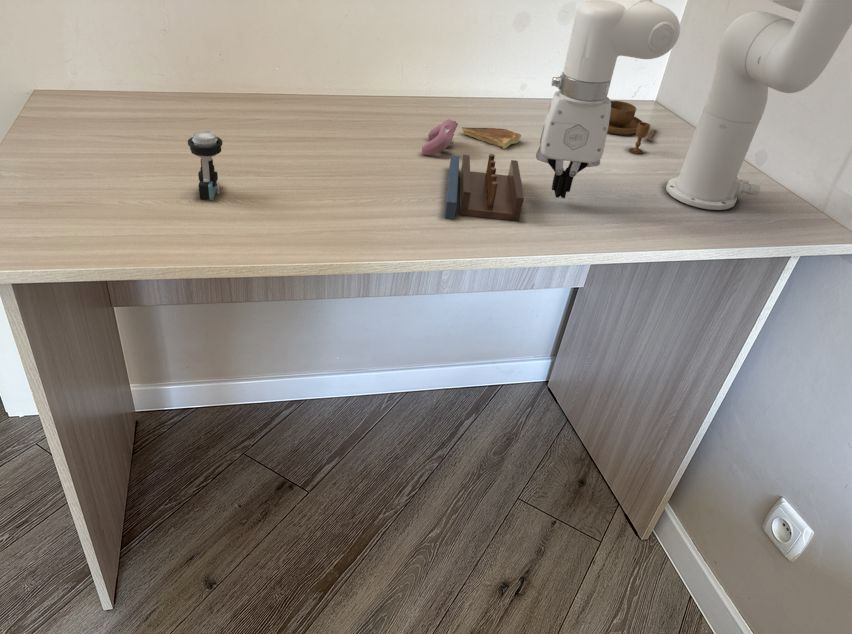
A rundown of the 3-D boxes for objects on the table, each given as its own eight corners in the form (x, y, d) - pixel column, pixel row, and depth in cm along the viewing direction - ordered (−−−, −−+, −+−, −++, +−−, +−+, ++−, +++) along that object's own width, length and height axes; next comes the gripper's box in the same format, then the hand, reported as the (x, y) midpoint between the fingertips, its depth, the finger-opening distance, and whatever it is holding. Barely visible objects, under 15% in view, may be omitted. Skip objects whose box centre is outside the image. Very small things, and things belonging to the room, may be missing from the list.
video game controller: (438, 166, 135) (458, 137, 130) (418, 152, 134) (438, 123, 130) (444, 148, 142) (464, 120, 138) (426, 135, 142) (445, 107, 137)
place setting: (658, 128, 158) (666, 102, 155) (644, 155, 144) (652, 128, 140) (584, 111, 164) (590, 86, 160) (562, 136, 149) (569, 109, 145)
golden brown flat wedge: (460, 134, 145) (461, 125, 144) (480, 126, 150) (482, 118, 149) (503, 149, 140) (504, 141, 139) (522, 141, 145) (524, 132, 144)
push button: (197, 182, 117) (191, 125, 111) (229, 184, 117) (225, 127, 111) (190, 200, 112) (184, 140, 106) (223, 201, 112) (219, 142, 106)
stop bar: (457, 171, 130) (459, 156, 128) (454, 219, 114) (456, 202, 112) (448, 170, 130) (451, 155, 128) (444, 218, 114) (446, 201, 112)
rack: (513, 182, 128) (519, 153, 124) (519, 221, 115) (525, 191, 112) (459, 176, 128) (464, 147, 125) (460, 214, 115) (464, 184, 112)
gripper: (538, 90, 106) (517, 199, 118) (635, 100, 106) (605, 208, 117) (535, 76, 112) (516, 181, 124) (627, 85, 111) (599, 189, 123)
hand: (559, 194), depth 120 cm, fingers closed
